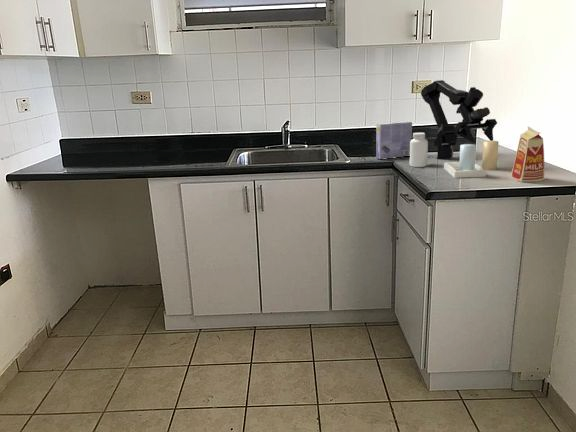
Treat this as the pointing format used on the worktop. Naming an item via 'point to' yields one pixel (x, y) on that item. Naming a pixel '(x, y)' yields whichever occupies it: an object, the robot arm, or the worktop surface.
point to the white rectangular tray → (454, 170)
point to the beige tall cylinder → (490, 155)
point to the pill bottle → (418, 150)
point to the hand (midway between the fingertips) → (483, 141)
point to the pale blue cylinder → (467, 157)
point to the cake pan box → (393, 140)
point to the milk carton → (529, 158)
